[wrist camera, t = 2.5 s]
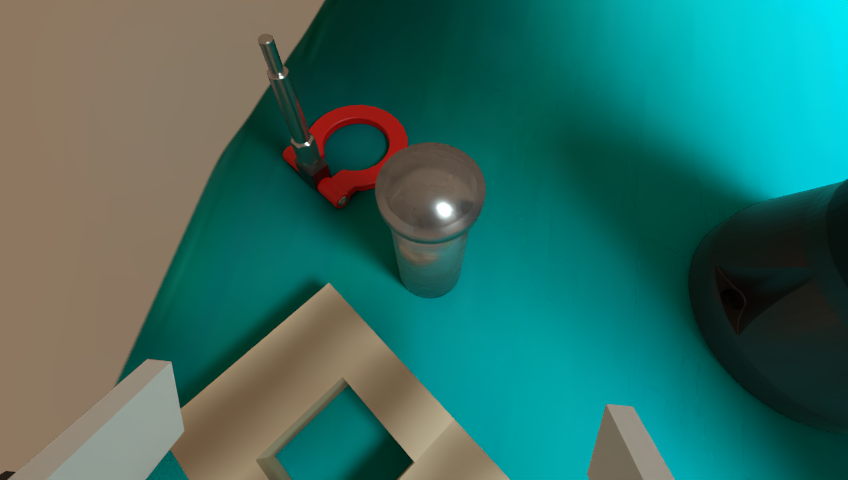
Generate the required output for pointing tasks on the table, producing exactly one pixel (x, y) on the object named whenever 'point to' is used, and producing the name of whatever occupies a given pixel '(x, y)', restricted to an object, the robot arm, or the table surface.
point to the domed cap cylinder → (430, 213)
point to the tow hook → (326, 135)
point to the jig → (319, 402)
